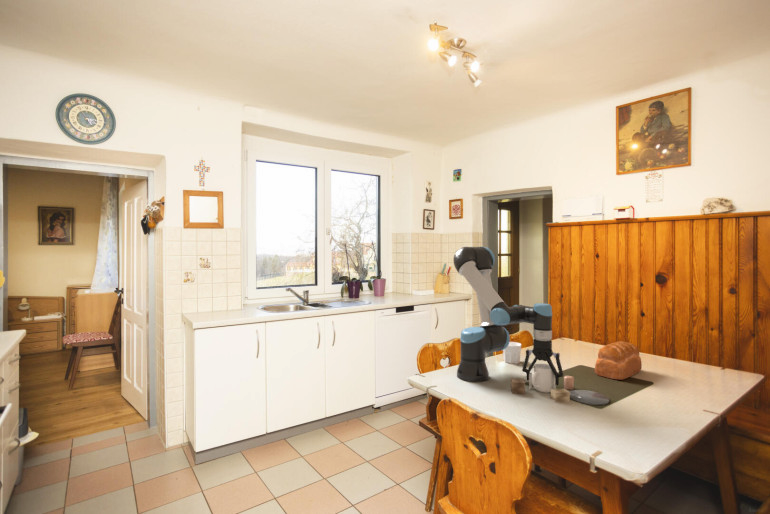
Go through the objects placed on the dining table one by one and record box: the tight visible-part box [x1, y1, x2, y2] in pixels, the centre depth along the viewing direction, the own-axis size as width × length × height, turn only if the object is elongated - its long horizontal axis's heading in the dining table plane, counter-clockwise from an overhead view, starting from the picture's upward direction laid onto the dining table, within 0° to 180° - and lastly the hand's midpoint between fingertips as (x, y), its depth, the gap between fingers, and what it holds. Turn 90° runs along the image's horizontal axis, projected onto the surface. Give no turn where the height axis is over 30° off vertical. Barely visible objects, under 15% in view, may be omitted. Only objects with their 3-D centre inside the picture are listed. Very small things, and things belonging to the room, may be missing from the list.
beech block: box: [550, 388, 571, 403], centre depth 160 cm, size 6×4×4 cm, turn 94°
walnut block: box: [510, 378, 526, 395], centre depth 169 cm, size 5×5×5 cm
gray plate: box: [569, 389, 610, 406], centre depth 162 cm, size 15×15×1 cm
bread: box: [594, 340, 643, 381], centre depth 195 cm, size 14×26×16 cm, turn 128°
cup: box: [502, 341, 522, 365], centre depth 215 cm, size 10×10×10 cm
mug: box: [532, 363, 555, 394], centre depth 171 cm, size 12×8×10 cm
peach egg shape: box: [563, 375, 575, 391], centre depth 174 cm, size 4×4×5 cm
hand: (542, 389), depth 171 cm, fingers open, 9 cm apart
